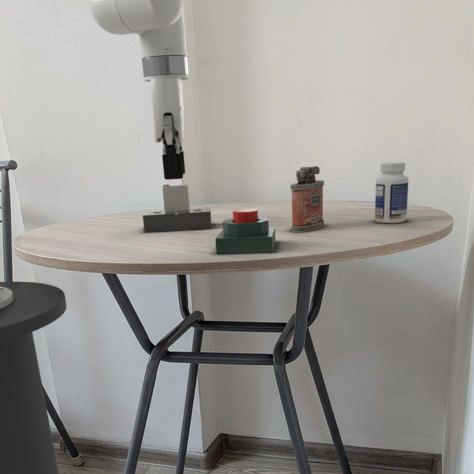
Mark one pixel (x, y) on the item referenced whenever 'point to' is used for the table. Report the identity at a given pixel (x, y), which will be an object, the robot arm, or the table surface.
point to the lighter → (307, 200)
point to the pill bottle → (391, 193)
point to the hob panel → (177, 220)
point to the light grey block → (176, 198)
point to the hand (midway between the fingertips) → (175, 176)
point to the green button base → (245, 237)
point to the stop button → (245, 215)
